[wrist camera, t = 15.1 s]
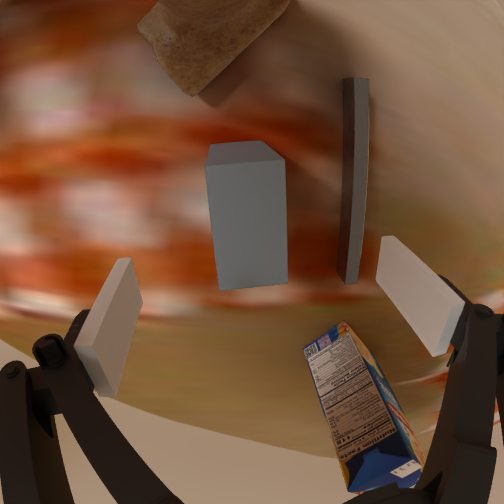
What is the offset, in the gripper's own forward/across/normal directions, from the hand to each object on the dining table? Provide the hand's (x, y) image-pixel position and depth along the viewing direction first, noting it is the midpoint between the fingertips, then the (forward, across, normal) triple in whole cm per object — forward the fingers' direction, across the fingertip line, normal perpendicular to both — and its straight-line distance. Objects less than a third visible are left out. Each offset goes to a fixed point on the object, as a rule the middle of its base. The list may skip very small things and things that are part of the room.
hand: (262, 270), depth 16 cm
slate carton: (+18, 0, 0) cm, 18 cm away
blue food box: (+18, +13, -25) cm, 34 cm away
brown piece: (+18, -2, +18) cm, 26 cm away
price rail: (+18, +12, 0) cm, 21 cm away
